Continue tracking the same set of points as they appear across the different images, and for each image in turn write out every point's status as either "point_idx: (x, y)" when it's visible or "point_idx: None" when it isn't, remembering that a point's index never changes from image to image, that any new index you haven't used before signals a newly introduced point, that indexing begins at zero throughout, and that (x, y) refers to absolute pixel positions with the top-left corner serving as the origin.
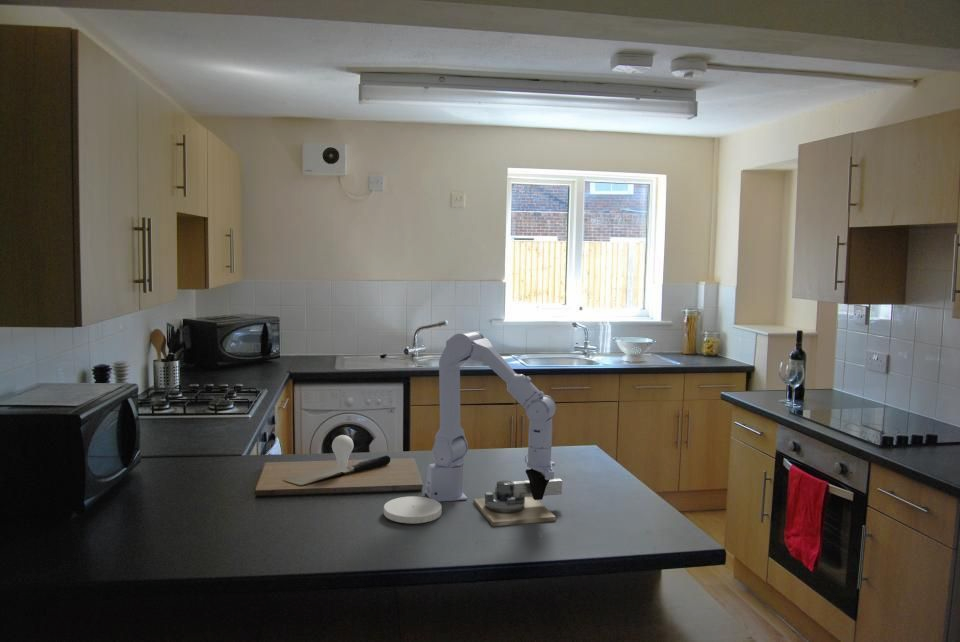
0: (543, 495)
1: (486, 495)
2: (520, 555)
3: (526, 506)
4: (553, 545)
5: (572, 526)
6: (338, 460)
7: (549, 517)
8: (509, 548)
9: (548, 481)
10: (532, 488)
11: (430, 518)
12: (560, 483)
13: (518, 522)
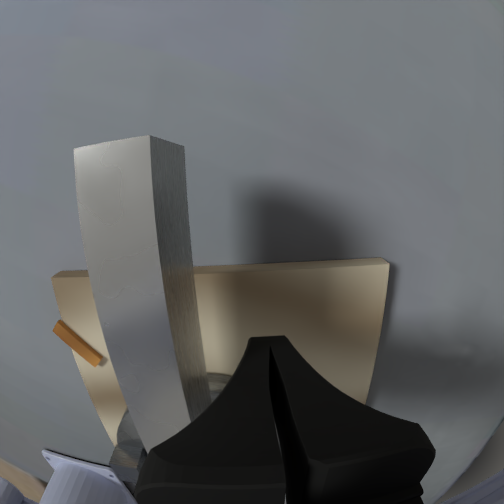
0: (291, 345)
1: None
2: (500, 403)
3: (217, 362)
4: None
5: (450, 204)
6: None
7: (385, 296)
8: (468, 424)
9: (370, 408)
10: (279, 442)
11: None
12: (160, 157)
13: None
